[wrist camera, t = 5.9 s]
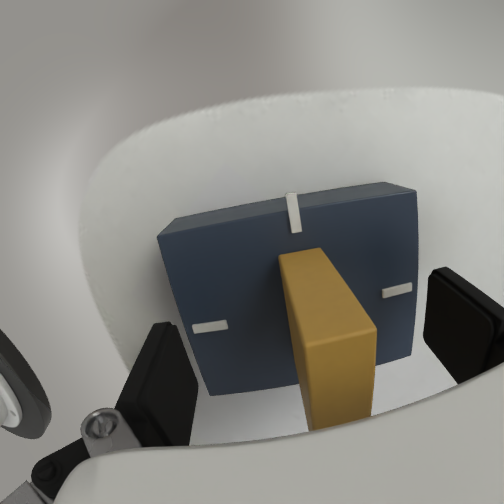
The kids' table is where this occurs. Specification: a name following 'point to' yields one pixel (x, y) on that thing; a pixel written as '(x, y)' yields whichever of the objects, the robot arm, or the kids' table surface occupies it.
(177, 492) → the robot arm
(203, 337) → the plate
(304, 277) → the lock knob
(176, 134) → the kids' table surface
